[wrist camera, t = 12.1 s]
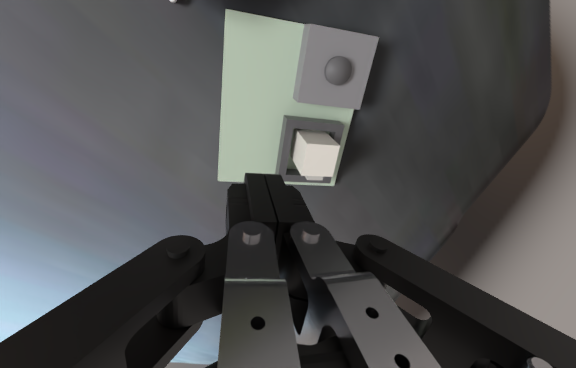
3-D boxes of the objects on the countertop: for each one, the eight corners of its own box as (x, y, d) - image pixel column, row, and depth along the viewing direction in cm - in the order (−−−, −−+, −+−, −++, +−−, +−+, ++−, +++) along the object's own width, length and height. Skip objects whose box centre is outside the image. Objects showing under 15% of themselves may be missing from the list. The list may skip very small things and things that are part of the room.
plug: (294, 127, 36) (307, 143, 31) (323, 129, 37) (340, 145, 32) (289, 161, 38) (300, 181, 33) (316, 162, 39) (331, 182, 34)
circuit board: (225, 9, 29) (226, 6, 26) (368, 37, 34) (385, 38, 30) (217, 177, 38) (217, 192, 35) (331, 182, 43) (341, 196, 39)
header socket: (283, 114, 35) (286, 119, 33) (339, 120, 37) (344, 125, 35) (274, 174, 39) (277, 181, 37) (325, 177, 41) (330, 183, 39)
